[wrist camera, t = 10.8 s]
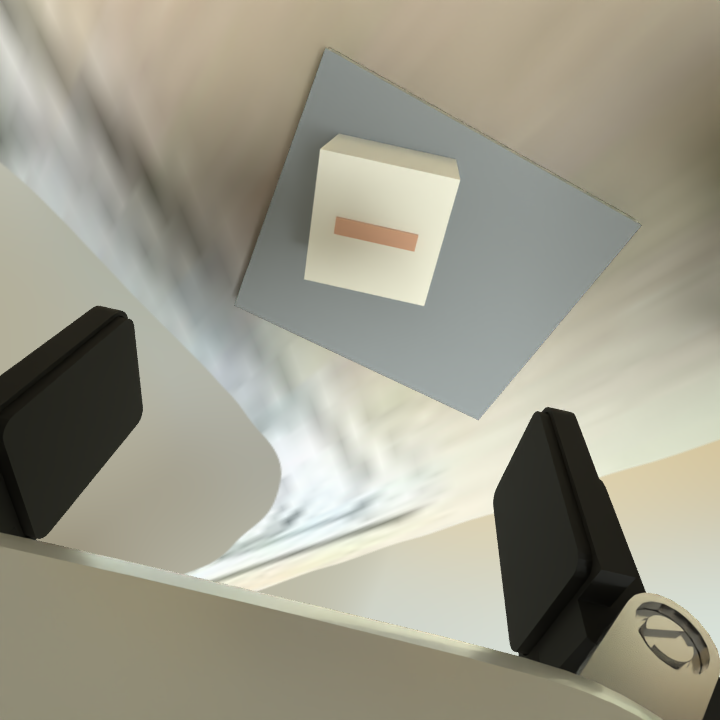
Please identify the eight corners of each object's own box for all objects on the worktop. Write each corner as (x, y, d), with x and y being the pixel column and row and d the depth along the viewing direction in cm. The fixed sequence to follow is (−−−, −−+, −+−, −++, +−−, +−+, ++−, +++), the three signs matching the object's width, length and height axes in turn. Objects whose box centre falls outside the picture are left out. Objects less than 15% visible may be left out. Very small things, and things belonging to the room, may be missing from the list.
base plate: (632, 217, 27) (641, 225, 26) (476, 407, 36) (478, 420, 34) (331, 48, 25) (325, 47, 23) (241, 295, 33) (234, 305, 32)
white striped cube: (456, 159, 25) (460, 180, 21) (425, 269, 29) (423, 307, 25) (339, 133, 25) (319, 149, 21) (322, 246, 29) (303, 280, 25)
